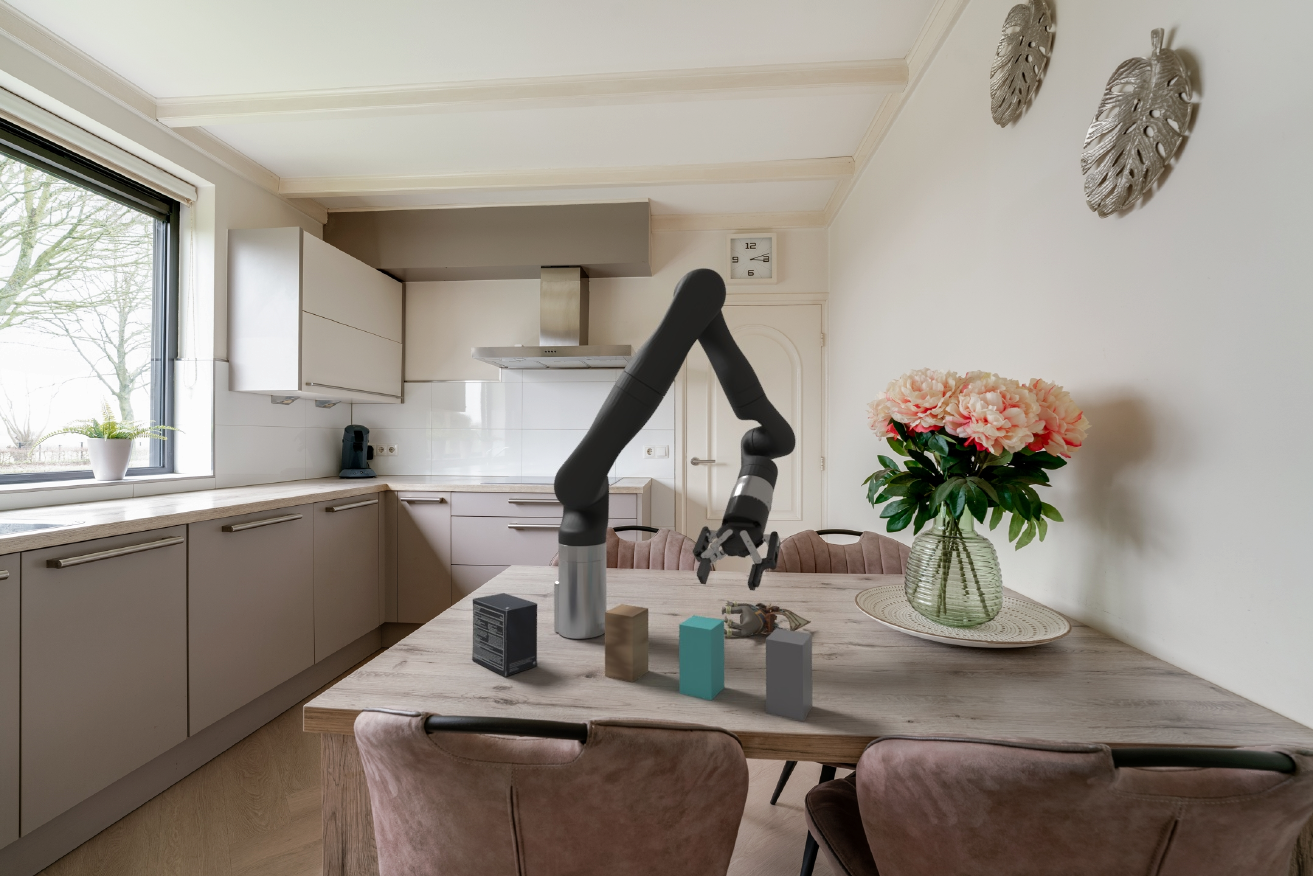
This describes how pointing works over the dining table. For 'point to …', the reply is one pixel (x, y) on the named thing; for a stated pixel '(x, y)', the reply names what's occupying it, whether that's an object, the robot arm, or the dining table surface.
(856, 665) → the dining table surface
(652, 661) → the dining table surface
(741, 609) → the figurine
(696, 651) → the teal block
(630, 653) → the walnut block
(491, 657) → the small box
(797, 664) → the charcoal block
